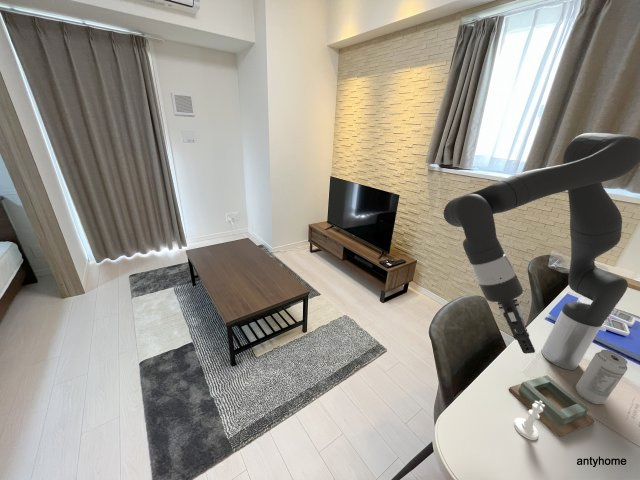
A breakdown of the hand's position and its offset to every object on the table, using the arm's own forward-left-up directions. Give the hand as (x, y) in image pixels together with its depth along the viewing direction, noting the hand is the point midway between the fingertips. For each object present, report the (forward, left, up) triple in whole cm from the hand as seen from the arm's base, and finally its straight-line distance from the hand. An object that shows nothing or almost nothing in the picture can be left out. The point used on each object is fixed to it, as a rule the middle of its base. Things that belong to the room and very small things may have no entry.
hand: (525, 341), depth 58 cm
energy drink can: (-32, +4, -24) cm, 40 cm away
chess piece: (-4, +6, -24) cm, 25 cm away
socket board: (-17, +3, -24) cm, 30 cm away
